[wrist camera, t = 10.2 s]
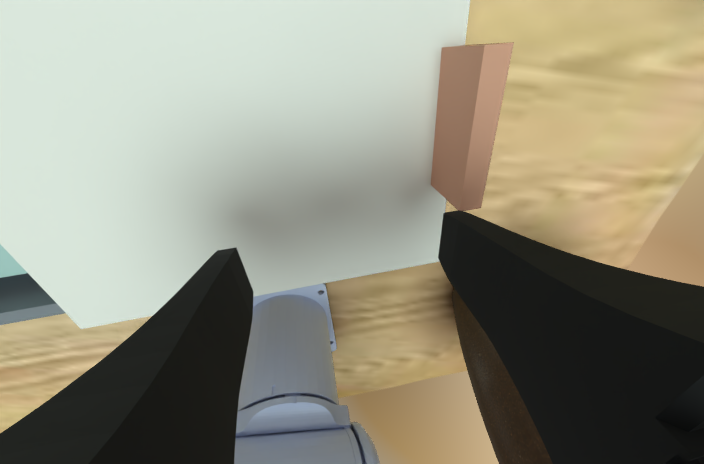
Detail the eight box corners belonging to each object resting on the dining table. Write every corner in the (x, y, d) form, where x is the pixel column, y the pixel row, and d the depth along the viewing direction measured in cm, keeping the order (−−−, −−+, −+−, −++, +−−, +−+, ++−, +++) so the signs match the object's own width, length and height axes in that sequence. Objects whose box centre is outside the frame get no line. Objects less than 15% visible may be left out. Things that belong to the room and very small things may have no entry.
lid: (433, 254, 18) (463, 295, 15) (89, 317, 16) (40, 382, 13) (475, -153, 9) (574, -263, 6) (-322, -144, 7) (-858, -317, 4)
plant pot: (418, 239, 24) (582, 475, 10) (575, 208, 25) (895, 380, 12) (414, 346, 32) (503, 553, 19) (533, 317, 33) (694, 491, 20)
